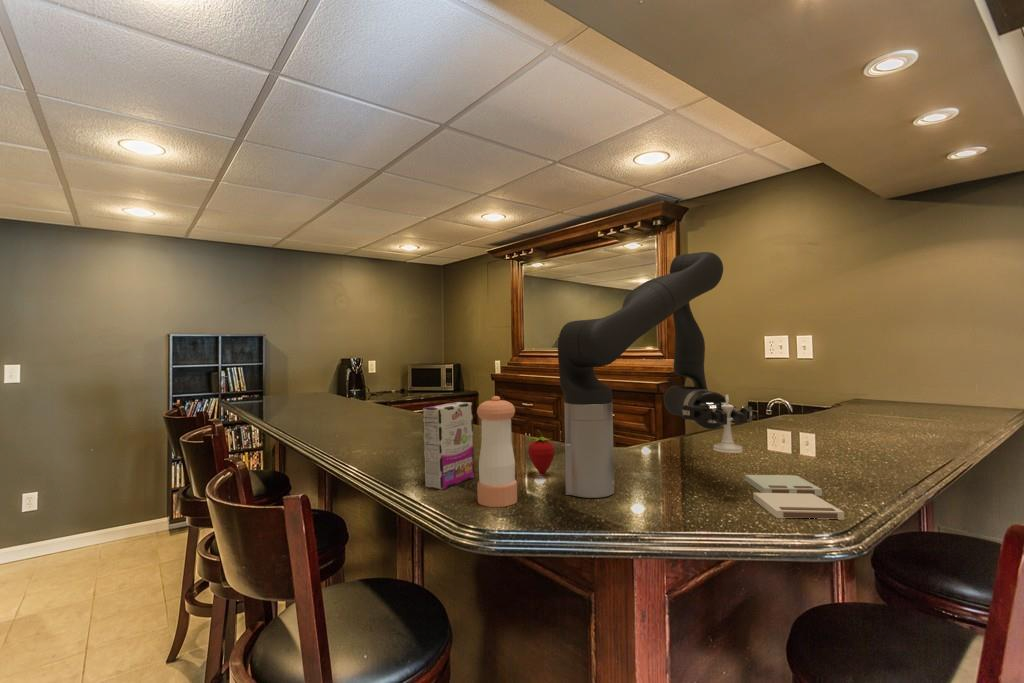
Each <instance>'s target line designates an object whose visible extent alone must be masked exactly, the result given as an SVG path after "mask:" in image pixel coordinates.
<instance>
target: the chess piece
mask: <svg viewBox="0 0 1024 683" xmlns="http://www.w3.org/2000/svg"><path fill="white" fill-rule="evenodd" d="M725 400H726V404H725V405H721V408H722V410H723V411H724V412H726V413H727V425H723V433H722V439H721V440H720V442H718V443H715V444H713V446H712V450H713V451H716V452H719V453H727V454H729V453H730V454H738V453H742V452H743V447H742V446H741V445H740V444H737V443H735V441H734V440H733V435H732V434H733V433H732V426H731V423H730V421H732V420H733V418H730V415H731V412H732V409H733V406H734V405H733V406H732V404H730V398H729V394H725Z"/></svg>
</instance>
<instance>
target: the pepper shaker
mask: <svg viewBox="0 0 1024 683" xmlns="http://www.w3.org/2000/svg"><path fill="white" fill-rule="evenodd" d="M476 414H477V416H478V418H480V420H481V444H480V452H479V458H478V472H479V473H478V475H479V476H478V477H479V480H478V481H477V484H476V485H477V486H476V488H477V489H476V490H477V495H476V496H477V503H478V504H479V505H481V506H484V507H490V508H500V507H502V508H503V507H508V506H512V505H515V504H516V503H517V502H518V480H516V477H515V476H516V459H515V454H514V449H513V442H512V418H513V417H515V416H514V415H515V414H516V408H515V405H514V404H513V403H511V402H510V401H507V400H501V397H500V396H498V395H494V396H492V397H491V400H485V401H483V402H482V403H480V404H479V406H478V407H477V409H476Z"/></svg>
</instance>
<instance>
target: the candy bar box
mask: <svg viewBox="0 0 1024 683" xmlns="http://www.w3.org/2000/svg"><path fill="white" fill-rule="evenodd" d="M473 418H474V417H473V402H468V401H467V402H466V401H456V402H450V403H449V402H448V403H444V404H438V405H433V406H428V407H427V406H426V407H423V408H422V421H423V423H422V424H423V457H424V458H423V460H424V487H425V488H426V489H427V488H428V489H433V490H434V489H435V490H446V489H447V488H451V487H454V486H456V485H458V484H461V483H464V482H466V481H468V480H471V479H473V478H475V461H474V460H475V459H474V458H475V457H474V428H473V427H474V426H473V424H474V423H473Z"/></svg>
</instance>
